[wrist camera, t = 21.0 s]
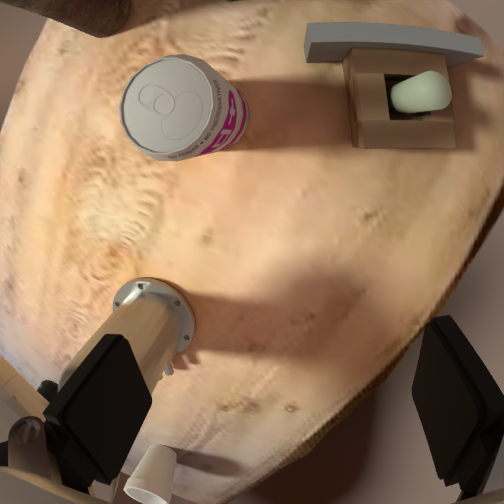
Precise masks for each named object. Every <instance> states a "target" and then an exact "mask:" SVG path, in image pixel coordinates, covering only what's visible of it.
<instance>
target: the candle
mask: <svg viewBox="0 0 504 504" xmlns="http://www.w3.org/2000/svg"><path fill="white" fill-rule="evenodd" d="M0 2H1V3H5V4H8V5H11V6H15V7H18V8H22V9H24V10H27V11H30V12H33V13H37V14H39V15H42V16H45V17H48V18H51V19H53V20H56V21H58V22H61V23H63V24H65V25H68V26H70V27H73V28H75V29H78V30H80V31H82V32H85V33H87V34H90V35H92V36H95V37H98V38H103V37H105V36H107V35H109V34H111V33H113V32H115V31H116V30H118V29H119V28H120V27H121V26H122V25H123V24H124V22H125V20H126V18H127V16H128V13H129V8H130V0H0Z"/></svg>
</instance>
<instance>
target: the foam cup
mask: <svg viewBox="0 0 504 504" xmlns="http://www.w3.org/2000/svg"><path fill="white" fill-rule="evenodd" d="M176 461H177V454H176V453H175V452H174V451H173V450H172V449H171V448H169V447H167V446H164V445H161V444H152V445H151V446H150V447H149V449H148V450H147V452H146V453H145V455H144V457H143V458H142V460H141V461H140V463H139V464H138V466H137V468H136V469H135V471H134V472H133V474H132V475H131V477H130V478H128V480H127V483H126V485H125V487H124V491H125V492H126V493H127V494H128V495H129V496H131V497H132V498H133V499H135V500H138V501H140V502H141V503H144V504H169V503H170V500H171V497H172V496H171V491H172V485H173V478H174V472H175V467H176Z"/></svg>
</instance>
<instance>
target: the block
mask: <svg viewBox="0 0 504 504" xmlns="http://www.w3.org/2000/svg"><path fill="white" fill-rule="evenodd" d="M342 64H343V71H344V77H345V84H346V91H347V98H348V106H349V114H350V123H351V132H352V143H353V147H358V148H364V149H373V148H453V149H456V142H455V128H454V116H453V107H452V98H451V101H450V103H449V105H448V106H447V107H446V108H444V109H440V110H431V111H423V112H416V113H409V114H402V115H393V114H391V113H389V110H388V101H387V94H386V89H387V88H388V87H391V86H393V85H395V84H398V83H400V82H402V81H405V80H407V79H409V78H412V77H414V76H417V75H419V74H422V73H424V72H427V71H435V72H438V73H440V74H441V75H443V76H444V77H445V78H446V80H447V81H448V83H449V77H448V71H447V65H446V60H445V55H444V54H442V53H434V52H426V51H416V50H405V49H391V48H367V47H352V48H351V49H350V51H349V52H348V54H347V55H346V56H345V58H344V59H343V60H342Z"/></svg>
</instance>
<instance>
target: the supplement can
mask: <svg viewBox="0 0 504 504" xmlns="http://www.w3.org/2000/svg"><path fill="white" fill-rule="evenodd" d="M119 110H120V121H121V125H122V127H123V129H124V131H125V134H126V136H127V137H128V138H129V139H130V141H131V142H132V143H133V144H134V145H135V146H136V147H137V148H138V149H139V150H140V151H141V152H142V153H143V154H145V155H147V156H149V157H152V158H154V159H156V160H159V161H180V160H185V159H189V158H193V157H197V156H201V155H205V154H210V153H214V152H218V151H222V150H225V149H228V148H230V147H231V146H232V145H234V144H235V143H237V142H238V141H239V140H240V138H241V137H242V136H243V134H244V133H245V131H246V129H247V125H248V122H249V108H248V104H247V102H246V100H245V98H244V96H243V94H242V93H241V92H239V91H238V90H237V89H236V88H235V87H234V86H233V85H232V84H230V83H229V82H228V81H227V80H226V79H225V78H224V77H222V76H221V75H220V74H219V73H218V72H217V71H215V70H214V69H213V68H212V67H211V66H210V65H208V64H207V63H206V62H205V61H204V60H202V59H199V58H196V57H192V56H189V55H186V54H181V55H167V56H164V57H162V58H159V59H157V60H155V61H152V62H150V63H148V64H146V65H144V66H143V67H142V68H141V69H139V70H138V71H137V72H136V73H135V74H134V75H133V76H132V77H131V78H130V80H129V82H128V83H127V85H126V87H125V88H124V90H123V93H122V97H121V102H120V106H119Z"/></svg>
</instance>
